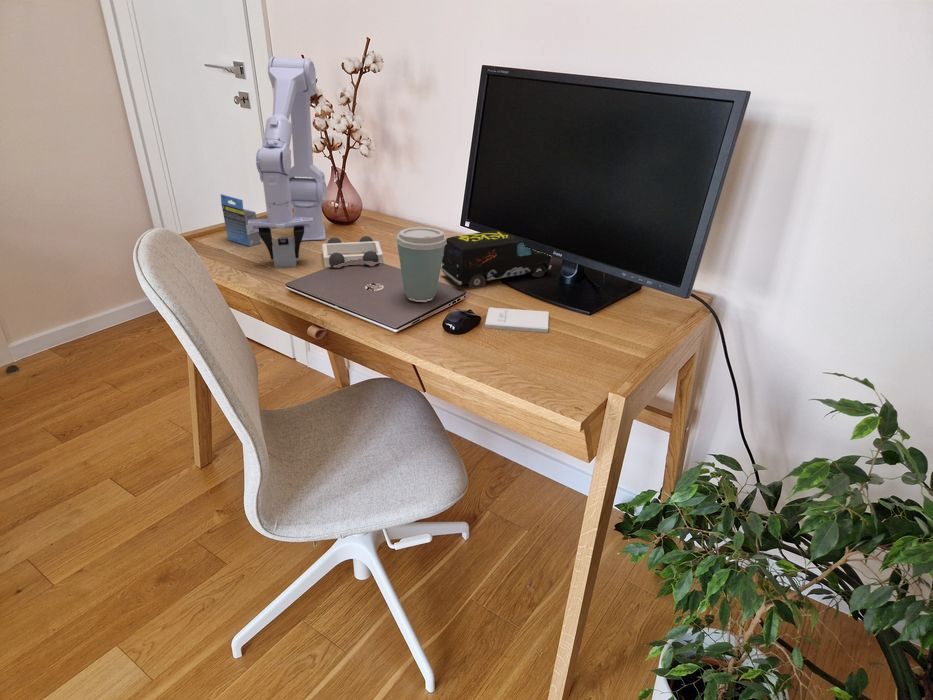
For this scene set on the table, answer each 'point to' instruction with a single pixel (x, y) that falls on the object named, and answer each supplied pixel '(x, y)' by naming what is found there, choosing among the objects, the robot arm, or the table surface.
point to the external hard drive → (517, 320)
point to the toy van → (489, 258)
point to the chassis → (351, 251)
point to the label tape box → (239, 222)
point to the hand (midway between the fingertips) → (285, 257)
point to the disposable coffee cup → (420, 260)
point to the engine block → (284, 252)
